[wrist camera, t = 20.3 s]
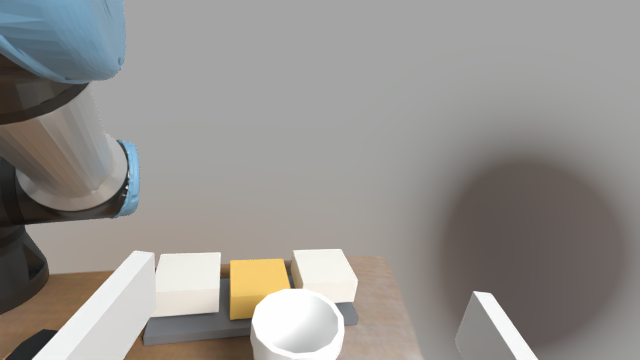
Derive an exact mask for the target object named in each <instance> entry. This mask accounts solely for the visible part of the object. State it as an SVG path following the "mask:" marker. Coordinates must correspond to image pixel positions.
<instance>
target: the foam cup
mask: <svg viewBox="0 0 640 360" xmlns="http://www.w3.org/2000/svg"><path fill="white" fill-rule="evenodd" d="M343 337H344V318H343V316H342V314H341V313H340V311H339V310H338V308H337V307H336V305H335V304H334V303H333V302H332V301H330V300H329V299H327V298H326V297H324V296H323V295H321V294H319V293H316V292H312V291H309V290H306V289H283V290H280V291H278V292H275V293H272V294H269V295H267V296H266V297H265V298H264V299H263V300H262V301H261V302H260V303H259V304H258V305H257V306H256V308H255V312H254V315H253V318H252V323H251V335H250V340H251V344H252V347H253V354H254V360H336V358H337V356H338V354H339V353H340V351H341V346H342V342H343Z"/></svg>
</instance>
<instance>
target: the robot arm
mask: <svg viewBox="0 0 640 360" xmlns="http://www.w3.org/2000/svg"><path fill="white" fill-rule="evenodd" d="M125 35H126V34H125V18H124V5H123V0H0V314H2V313H4V312H6V311H8V310H10V309H13V308H14V307H16V306H18V305H20V304H22V303H23V302H25V301H27V300H28V299H30V298H31V297H32V296H34V295H35V294H36V293H37V292H38V291H40V290H41V289H42V287H43V286H44V285H45V284H46V282H47V280H48V277H49V270H48V264H47V260H46V258H45V256H44V255H43V254H42V252H41V251H40V250H39V248H38V247H37V246H36V244H35V243H34V242H33V240H32V239H31V238H30V236H29V235H28V234H27V232H26V230H25V225H28V224H38V223H50V222H61V221H62V222H63V221H75V220H87V219H99V218H117V217H119V216H126V215H130V214H132V213H133V212H135V210H136V209H137V206H138V200H139V195H138V194H139V187H140V181H139V180H140V177H139V176H140V175H139V174H140V173H139V159H138V153H137V149H136V146H135V145H134V144H133V143H131V142H126V141H122V140H115V139H113V138H112V137H111V136H110V135H108V134H107V133H105V132H104V130H103V127H102V123H101V120H100V117H99V114H98V111H97V108H96V105H95V102H94V99H93V95H92V92H91V89H90V84H91V83H92V82H93V81H96V80H97V81H100V80H107V79H110V78H112V77H114V76H115V75H116V74H117V73H118V71H119V70H120V69H121V66H122V64H123V62H124V56H125V38H126V36H125ZM156 307H157V305H156V284H155V263H154V253H151V252H142V251H134V252H133V253H132V254H131V255H130V256H129V257H128V258H127V259H126V260H125V261H124V262H123V263H122V264H121V265H120V267H119V268H118V269H117V270H116V271H115V272H114V273H113V274H112V275H111V276H110V277H109V278H108V279H107V280H106V281H105V282H104V284H103V285H102V286H101V287H100V288H99V289H98V290H97V291H96V292H95V293H94V294H93V295H92V296H91V297H90V298H89V299H88V301H87V302H86V303H85V304H84V305H83V306H82V307H81V308H80V309H79V310H78V311H77V312H76V313H75V314H74V315H73V317H72V318H71V319H70V320H69V321H68V322H67V323H66V324H65V325H64V326H63V327H62V328H61V329H60V330H59V331H55V330H46V329H43V330H41V331H40V332H38V333H37V334H35V335H33V336H32V337H30V338H28V339H27V340H25V341H24V342H22V343H21V344H20V345H19V346H18V347H17V348H16V349H15V350H14V351H13V352H12V353H11V354H10V355H9V356H8V357H7V358H6V359H5V360H123V359H124V357H125V356H126V354H127V352H128V351H129V349H130V348H131V346H132V345H133V343H134V342H135V340H136V338H137V337H138V335H139V334H140V332H141V331H142V329H143V328H144V326H145V325H146V323H147V321H148V320H149V318H150V317H151V315H152V314H153V312H154V311H155V309H156ZM455 343H456V346H457V348H458V350H459V352H460V354H461V356H462V359H463V360H538V359H537V358H536V357H535V355H534V354H533V352H532V351H531V349H530V348H529V347H528V345H527V344H526V342H525V341H524V339H523V338H522V337H521V335H520V334H519V333H518V331H517V330H516V328H515V327H514V325H513V324H512V322H511V321H510V320H509V318H508V317H507V315H506V314H505V313H504V311H503V310H502V308H501V307H500V306H499V304H498V303H497V301H496V300H495V298H494V297H493V296H492V294H491V293H483V292H475V291H473V293H472V296H471V299H470V301H469V304H468V306H467V309H466V312H465V314H464V317H463V319H462V322H461V325H460V327H459V330H458V332H457V335H456V337H455Z"/></svg>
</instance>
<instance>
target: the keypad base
mask: <svg viewBox="0 0 640 360" xmlns="http://www.w3.org/2000/svg"><path fill="white" fill-rule="evenodd" d="M287 276H288V280H289V284H290V288H291V289H296V288H295V285H294V281H293V278H292V275H287ZM229 279H230V278H225V279H220V289H219V312H212V313H199V314H186V315H174V316H161V317H150V318H149V320H148V323H147V326H146V330H145V333H144V337H143V339H144V346H147V345H157V344H167V343H178V342H188V341H198V340H208V339H218V338H228V337H238V336H248V335H251V323H252V318H245V319H234V320H230V292H229ZM334 304H335V305H336V307H337V308H338V310H339V311H340V313H341V314H342V316H343V318H344V326H348V325H357V321H358V315H357V313H356V311H355V309H354V307H353V305H352V303H351V302H340V303H334Z"/></svg>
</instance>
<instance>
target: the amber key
mask: <svg viewBox="0 0 640 360" xmlns="http://www.w3.org/2000/svg"><path fill="white" fill-rule="evenodd" d="M283 289H291V288H290V284H289V280H288V276H287V272H286V268H285V265H284V261H283V259H257V260H231V261H230V279H229V292H230V320H234V319H245V318H253V315H254V312H255V308H256V306H257V305H258V304H259V303H260V302H261V301H262V300H263V299H264V298H265V297H266V296H267V295H269V294H272V293H275V292H278V291H280V290H283Z"/></svg>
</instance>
